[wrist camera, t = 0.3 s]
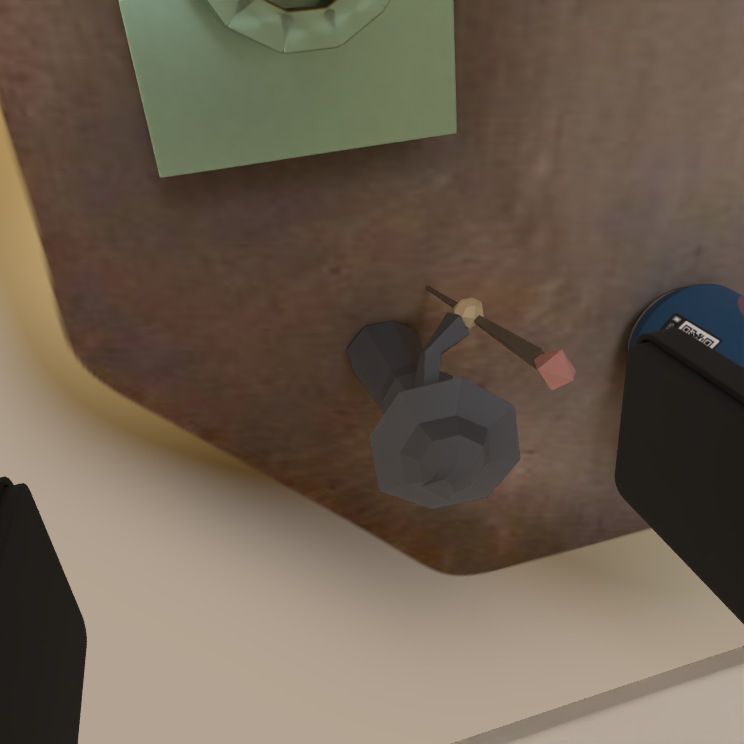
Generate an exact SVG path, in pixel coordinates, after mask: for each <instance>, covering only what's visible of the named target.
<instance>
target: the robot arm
mask: <svg viewBox="0 0 744 744" xmlns="http://www.w3.org/2000/svg"><path fill="white" fill-rule="evenodd" d="M615 482H616V486H617V489H618V491H619V493H620V495H621V496H622V497H623V498H624V499H625V500H626V502H627V503H628V504H629V505H630V506H631V507H632V508H633V509H634V510H635V511H636V512H637V513H638V514H639V515H640V516H641V517H642V518H643V519H644V520H645V521H646V522H647V523H648V525H649V526H650V527H651V528H652V529H653V530H654V531H655V532H656V533H657V534H658V535H659V536H660V537H661V538H662V539H663V540H664V541H665V542H666V543H667V544H668V545H669V546H670V547H671V549H672V550H673V551H674V552H675V553H676V554H677V555H678V556H679V557H680V558H681V559H682V560H683V561H684V562H685V563H686V564H687V565H688V566H689V567H690V568H691V569H692V571H693V572H694V573H695V574H696V575H697V576H698V577H699V578H700V579H701V580H702V581H703V582H704V583H705V584H706V585H707V586H708V587H709V588H710V589H711V590H712V591H713V592H714V594H715V595H716V596H717V597H719V599H720V600H721V601H722V602H723V603H724V604H725V605H726V606H727V607H728V608H729V609H730V610H731V611H732V612H733V613H734V614H735V615H736V617H737V618H738V619H739V620H740V621H741V622H742V623H743V624H744V368H743V367H741V366H740V365H738V364H736V363H735V362H733V361H732V360H730V359H728V358H727V357H725V356H723V355H722V354H720V353H719V352H717V351H715V350H714V349H712V348H710V347H709V346H707V345H706V344H704V343H702V342H701V341H699V340H697V339H696V338H694V337H693V336H691V335H689V334H688V333H686V332H685V331H683V330H681V329H679V328H676V327H674V328H668V329H663V330H659V331H654V332H650V333H645V334H642V335H641V336H639V337H638V339H637V340H636V343H635V345H633V346H632V347H630V349H629V351H628V356H627V365H626V375H625V384H624V393H623V403H622V412H621V422H620V431H619V440H618V450H617V459H616V468H615ZM86 647H87V636H86V628H85V624H84V620H83V617H82V614H81V612H80V610H79V607H78V605H77V602H76V600H75V598H74V595H73V593H72V591H71V588H70V586H69V583H68V581H67V578H66V576H65V574H64V571H63V569H62V566H61V564H60V562H59V559H58V557H57V554H56V552H55V550H54V547H53V545H52V542H51V540H50V538H49V535H48V533H47V530H46V528H45V525H44V523H43V521H42V518H41V516H40V513H39V511H38V509H37V506H36V504H35V501H34V499H33V497H32V494H31V492H30V490H29V488H28V486H27V485H26V484H24V483H22V484H17V485H13V483H12V482H11V480H10V479H9V478H7V477H1V478H0V744H78V733H79V723H80V712H81V701H82V689H83V679H84V668H85V657H86ZM452 744H744V646H743V647H740V648H737V649H734V650H731V651H728V652H725V653H722V654H719V655H716V656H713V657H709V658H706V659H704V660H700V661H697V662H694V663H692V664H688V665H685V666H682V667H679V668H676V669H673V670H670V671H667V672H664V673H661V674H658V675H655V676H652V677H649V678H646V679H643V680H640V681H637V682H634V683H631V684H628V685H625V686H622V687H619V688H616V689H613V690H610V691H607V692H604V693H601V694H598V695H595V696H592V697H589V698H586V699H583V700H580V701H577V702H574V703H571V704H568V705H565V706H562V707H559V708H556V709H553V710H550V711H547V712H544V713H542V714H538V715H536V716H532V717H529V718H526V719H524V720H520V721H518V722H515V723H512V724H509V725H506V726H503V727H500V728H497V729H494V730H491V731H488V732H485V733H482V734H479V735H476V736H473V737H470V738H467V739H464V740H461V741H458V742H455V743H452Z"/></svg>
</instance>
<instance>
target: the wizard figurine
mask: <svg viewBox="0 0 744 744" xmlns="http://www.w3.org/2000/svg"><path fill="white" fill-rule="evenodd" d="M426 289H427V290H428V291H430V292H431V293H433V294H434V295H435V296H437V297H438V298H440V299H441V300H442V301H444V302H445V303H447V304H448V305H450V306H451V307H452V308H453V310H454V314H451V313H447V314H446V315H445V317H444V319H443V320H442V322H441V323H440V325H439V326H438V328H437V329H436V331H435V333H434V334H433V336H432V337H431V339H430V340H429V342H428V344H427V345H426V347H425V348H424V349H423V346H422V344H421V342H420V339H419V337H418V334H417V332H415V331H413V330H411V329H409V326H408V325H407V324H397V323H395V322H393V321H389V322H384V323H380V324H375V325H370V326H365V327H364V328H363V329H362V330H361V332H360V333H359V334H358V336H357V337H356V338H355V340H354V341H353V342H352V344H351V345H350V346H349V348H348V349H347V352H348V355H349V358H350V361H351V364H352V367H353V370H354V373H355V375H356V377H357V378H358V379H359V381H360V382H361V383H362V384H363V386H364V387H365V388H366V390H367V391H368V392H369V393H370V395H371V396H372V397H373V399H374V400H375V401H376V402H377V404H378V405H379V406H380V408H381V409H382V410H383V413H384V415H383V417H382V418H381V420H380V421H379V423H378V424H377V426H376V427H375V429H374V430H373V431H372V433H371V434H370V436H369V439H370V444H371V449H372V455H373V460H374V465H375V470H376V476H377V481H378V486H379V491H381V492H383V493H386V494H389V495H392V496H395V497H398V498H401V499H403V500H406V501H409V502H412V503H415V504H418V505H421V506H423V507H426V508H429V509H436V508H440V507H445V506H450V505H455V504H460V503H465V502H470V501H475V500H479V499H484V498H488V496H489V495H490V494H491V493H492V492H493V491H494V489H495V488H496V487H497V486H498V485H499V484H500V482H501V481H502V480H503V479H504V478H505V476H506V475H507V474H508V473H509V472H510V471H511V469H512V468H513V467H514V466H515V465H516V464H517V462H518V461H519V460H520V451H519V442H518V434H517V425H516V417H515V408H514V406H513V405H512V404H510V403H508V402H506V401H504V400H503V399H501V398H499V397H497V396H496V395H494V394H492V393H490V392H488V391H487V390H485V389H483V388H481V387H480V386H478V385H476V384H474V383H473V382H471V381H469V380H467V379H465V378H464V377H459V378H455V379H453V376H452V375H449V374H447V372H446V373H443V372H440V360H441V354H443V353H444V352H446V351H447V350H448V349H450V348H451V347H452V346H454V345H455V344H457V343H458V342H459V341H461V340H462V339H463V338H465V337H466V336H468V335H469V332H468V330H467V329H466V328H468V329H471V328H472V327H474V326H476V325H478V326H479V327H480V328H482V329H483V330H484V331H486V332H487V333H488V334H490V335H491V336H492V337H494V338H495V339H496V340H498V341H499V342H500V343H502V344H503V345H504V346H506V347H507V348H508V349H510V350H511V351H512V352H514V353H515V354H516V355H518V356H519V357H520V358H522V359H523V360H524V361H526V362H527V363H528V364H530V365H531V366H532V367H534V368H535V369H536V370H538V371H539V373H540V374H541V375H542V377H543V378H544V380H545V381H546V383H547V384H548V386H549V387H550V388H551V390H552V391H553V390H555V389H557V388H559V387H561V386H563V385H565V384H567V383H569V382H571V381H573V378H574V375H575V371H576V370H575V369H574V367H573V366H572V364H571V363H570V361H569V360H568V358H567V357H566V355H565V353H564V352H563V350H562V349H560V350H556V351H552V352H548V353H544V352H543V350H542V349H541V348H539V347H537V346H535V345H533V344H532V343H530V342H528V341H526V340H524V339H522V338H521V337H519V336H517V335H515V334H513V333H511V332H509V331H508V330H506V329H504V328H502V327H500V326H498V325H497V324H495V323H493V322H491V321H489V320H487V319H485V318H484V315H483V309H482V302H481V301H479V300H476V299H474V298H471V297H466V298H464V299H462V300H460V301H459V302H458V303H457V302H455V301H454V300H452V299H450V298H449V297H447V296H445V295H443V294H442V293H440V292H438V291H437V290H435V289H433V288H431V287H430V286H428V287H426Z"/></svg>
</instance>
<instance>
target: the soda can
mask: <svg viewBox="0 0 744 744" xmlns="http://www.w3.org/2000/svg"><path fill="white" fill-rule="evenodd" d="M674 327H676V328H679V329H681V330H683V331H685V332H686V333H688V334H689V335H691V336H693V337H694V338H696V339H697V340H699V341H701V342H702V343H704V344H706V345H707V346H709V347H710V348H712V349H714V350H715V351H717V352H719V353H720V354H722V355H723V356H725V357H727V358H728V359H730V360H732V361H733V362H735V363H736V364H738V365H740V366H741V367H743V368H744V296H742V295H740V294H738V293H736V292H734V291H732V290H730V289H728V288H726V287H724V286H720V285H715V284H701V285H694V286H689V287H685V288H681V289H677V290H673V291H671V292H668V293H666V294H664V295H663V296H661V297H659V298H658V299H656V300H655V301H654V302H653V303H652V304H650V305H649V306H648V307H647V308H646V309H645V311H644V312H643V313H642V314H641V315H640V317H639V318H638V320H637V321H636V323H635V325H634V327H633V329H632V332H631V334H630V337H629V342H628V351H629V349H630V347H632V346H633V345H635V343H636V340H637V339H638V337H639V336H641V335H642V334H645V333H650V332H654V331H659V330H663V329H668V328H674Z"/></svg>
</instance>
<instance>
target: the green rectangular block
mask: <svg viewBox="0 0 744 744" xmlns="http://www.w3.org/2000/svg"><path fill="white" fill-rule="evenodd" d="M118 4H119V8H120V12H121V16H122V20H123V25H124V29H125V33H126V37H127V42H128V46H129V50H130V54H131V59H132V63H133V67H134V71H135V76H136V80H137V84H138V88H139V93H140V97H141V101H142V105H143V110H144V114H145V118H146V122H147V127H148V131H149V135H150V139H151V143H152V148H153V152H154V156H155V160H156V165H157V169H158V173H159V177H160V178H165V177H171V176H178V175H185V174H191V173H198V172H205V171H211V170H218V169H225V168H231V167H238V166H245V165H251V164H258V163H264V162H271V161H278V160H284V159H291V158H298V157H304V156H311V155H318V154H324V153H331V152H338V151H344V150H351V149H358V148H364V147H371V146H377V145H384V144H391V143H397V142H404V141H411V140H417V139H424V138H431V137H437V136H444V135H451V134H456V133H457V117H456V76H455V35H454V0H118Z"/></svg>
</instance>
